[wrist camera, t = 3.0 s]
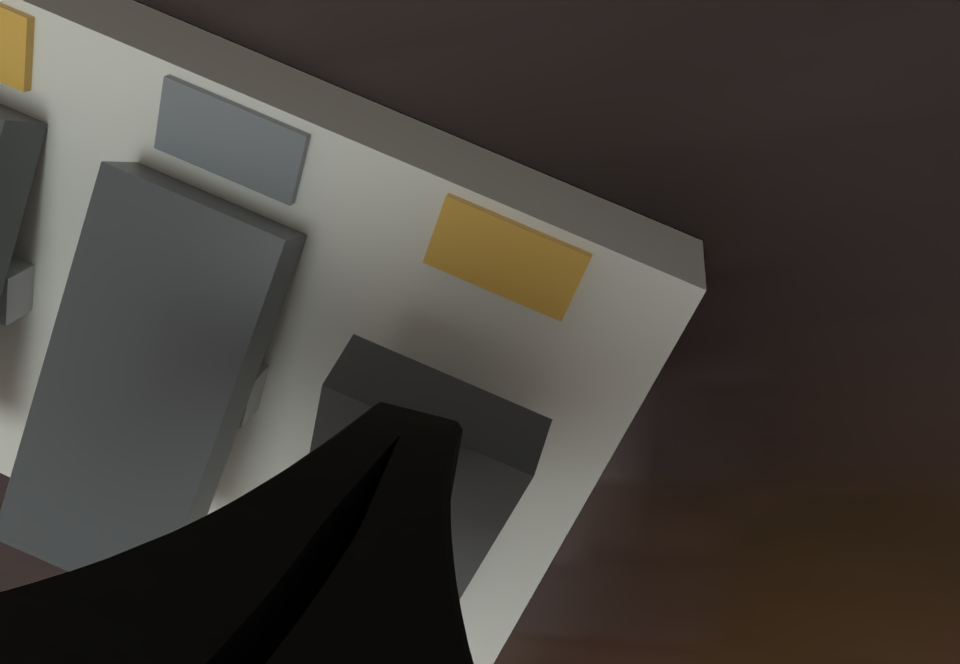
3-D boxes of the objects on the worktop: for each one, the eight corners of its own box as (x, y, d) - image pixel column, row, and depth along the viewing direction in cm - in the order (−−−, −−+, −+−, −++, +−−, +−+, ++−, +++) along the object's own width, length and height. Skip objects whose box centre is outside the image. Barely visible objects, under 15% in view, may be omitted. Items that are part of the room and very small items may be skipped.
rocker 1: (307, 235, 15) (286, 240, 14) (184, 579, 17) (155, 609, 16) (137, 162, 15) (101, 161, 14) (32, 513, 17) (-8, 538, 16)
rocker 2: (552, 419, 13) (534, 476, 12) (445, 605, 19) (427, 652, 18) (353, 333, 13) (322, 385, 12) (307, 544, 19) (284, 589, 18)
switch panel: (702, 240, 16) (708, 310, 13) (500, 609, 22) (474, 711, 19) (-94, -96, 17) (-253, -99, 14) (-82, 355, 23) (-191, 418, 20)
